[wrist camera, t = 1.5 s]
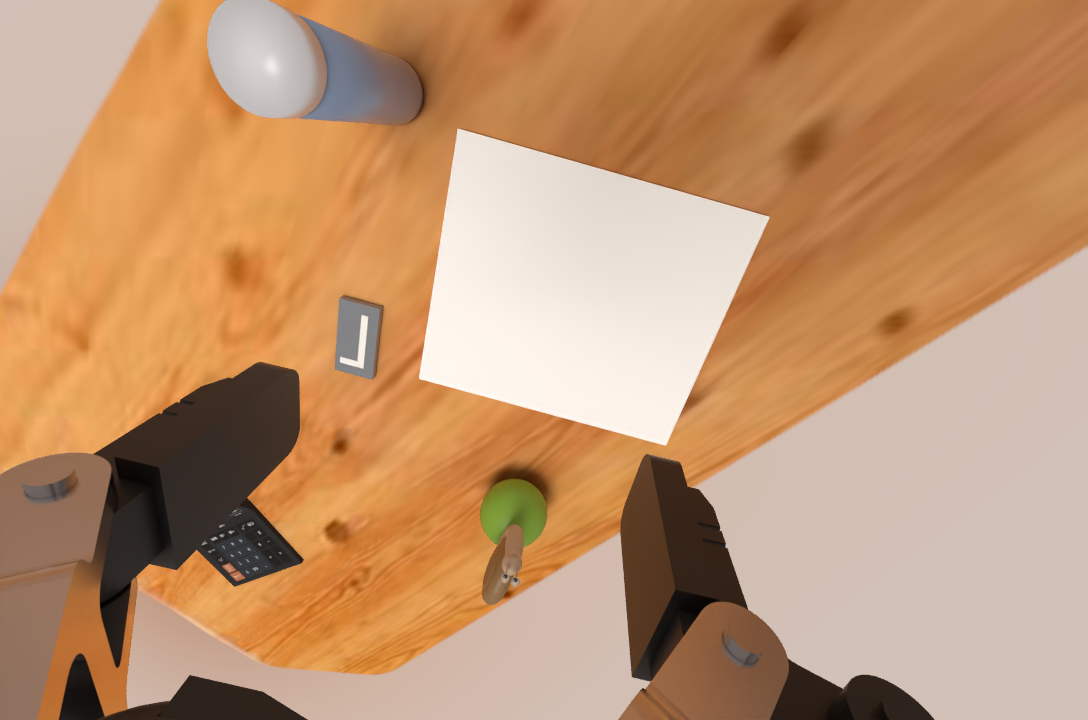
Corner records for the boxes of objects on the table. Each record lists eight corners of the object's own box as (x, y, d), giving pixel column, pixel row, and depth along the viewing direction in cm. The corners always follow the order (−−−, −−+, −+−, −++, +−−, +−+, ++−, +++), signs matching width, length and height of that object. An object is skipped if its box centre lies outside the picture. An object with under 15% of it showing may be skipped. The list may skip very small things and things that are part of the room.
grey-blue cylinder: (371, 49, 28) (203, -20, 16) (432, 66, 28) (311, 11, 16) (365, 117, 29) (210, 102, 17) (423, 133, 29) (307, 129, 17)
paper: (459, 128, 29) (458, 128, 29) (768, 216, 30) (769, 216, 29) (420, 376, 37) (419, 378, 37) (665, 443, 37) (665, 445, 37)
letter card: (343, 295, 35) (338, 298, 34) (383, 306, 35) (379, 309, 34) (338, 366, 37) (334, 370, 36) (375, 376, 37) (371, 380, 37)
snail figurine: (563, 470, 39) (552, 595, 29) (536, 522, 42) (516, 655, 31) (503, 447, 39) (468, 565, 28) (479, 501, 42) (439, 628, 31)
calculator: (239, 579, 50) (219, 604, 47) (160, 500, 46) (133, 523, 43) (306, 556, 48) (289, 581, 45) (228, 470, 44) (204, 492, 41)
